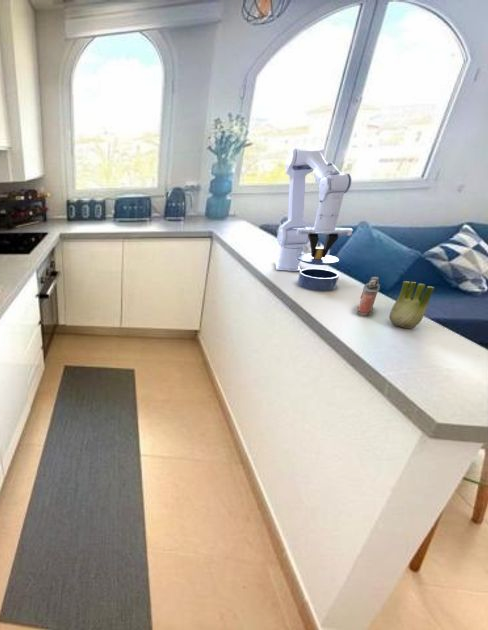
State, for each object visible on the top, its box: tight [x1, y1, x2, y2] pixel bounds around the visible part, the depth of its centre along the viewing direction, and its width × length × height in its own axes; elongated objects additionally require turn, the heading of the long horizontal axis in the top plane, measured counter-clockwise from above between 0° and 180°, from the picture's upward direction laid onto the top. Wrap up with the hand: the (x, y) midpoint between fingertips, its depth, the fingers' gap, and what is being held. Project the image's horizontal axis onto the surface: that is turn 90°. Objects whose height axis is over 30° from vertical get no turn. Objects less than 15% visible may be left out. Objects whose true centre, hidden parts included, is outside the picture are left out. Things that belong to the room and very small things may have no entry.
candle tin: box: [297, 268, 340, 292], centre depth 118 cm, size 11×11×4 cm
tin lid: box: [297, 246, 340, 266], centre depth 115 cm, size 12×12×5 cm
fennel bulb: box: [388, 280, 435, 329], centre depth 87 cm, size 6×5×12 cm
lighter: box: [355, 276, 381, 317], centre depth 97 cm, size 8×3×10 cm, turn 135°
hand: (317, 256), depth 115 cm, fingers closed on tin lid, 2 cm apart
